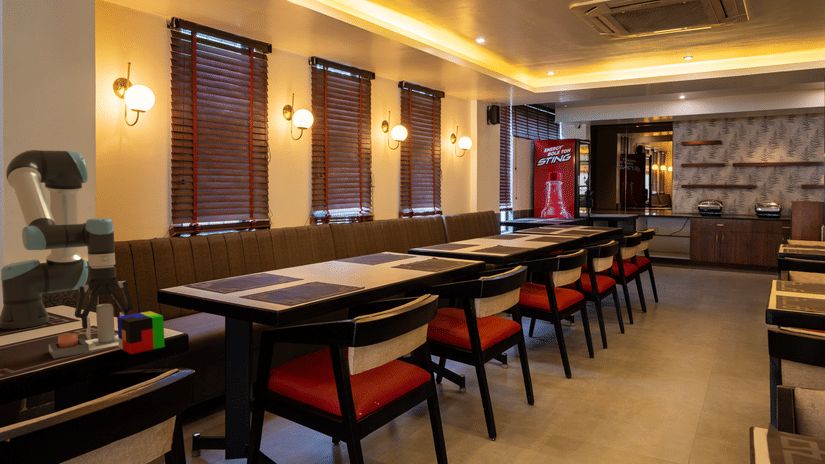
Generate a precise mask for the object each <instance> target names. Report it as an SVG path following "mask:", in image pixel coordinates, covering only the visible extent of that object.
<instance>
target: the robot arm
mask: <svg viewBox="0 0 825 464" xmlns="http://www.w3.org/2000/svg"><path fill="white" fill-rule="evenodd" d="M5 174H6V175H5V176H6V180H7V183H8V184H9V186H10V187H11V188H13V189H14V191H15V196H16V197H17V201H18V204H19V207H20V210H21V213H22V215H23V218H24V221H25V224H26V226H25V227H23V228H22V231H21V232H22V234H21V237H22V244H23V248H24V249H25V250H28V251H44V250H45V251H46V250H50V253H49V254H48V255H47V256H46V257H45V258H46V259H45V262H40V260H39V259H30V260H29V259H26V260H20V261H16V262H12V263H8V264H5V265H4V266H2V268H1V270H0V271H1V272H0V281H1V289H2V290H1V291H2V292H1V293H2V308H1V309H2V310H1V312H0V329H1V328H2V330H3V329H4V330H17V328H19V329H25V328H32V327H36V326H41V325H44V324H46V323H49V322H50V317H49V313H48V310H47V309H46V307H45V304H44V302H43V295H42V294H50V293H52V294H53V293H59V292H67V291H69V292H70V291H71V292H72V291H73V290H74V291H75V290H78V296H77V299H76V305H75V310H74V317H76V318H77V319H81V327H82V329H84V330H85V331H86V333H85V334H86V335H85V336H86V338H87V340H91V339H92V331H91V319H90V317H88V316H89V314H90V312H91V310H92V308H93V306H94V304H95V302H96V301H97V299H98V298H99V297H103V296H111V297H112V299H113V300H114V301H115V303H116V304H117V305H118V307H119V309H120V310H121V311H120V312H119V316H125V315H129V312H130V311H133V310H134V305H133V301H132V298H131V296H130V293H129V290H128V284H129V283H128V282H127V281H126V280H122V281H121V280H120V281H118V279H117V268H116V266H115V265H116V253H115V251H116V250H115V232H114V231H115V227H114V222H113V219H111V218H107V217H101V218H100V217H99V218H89V219H87V220H86V222H84V223H78V192H79V191H81V190H82V189H83V184H85V183H87V182H88V178H89V175H88V174H89V173H88V167H87V164H86V161H85V158H84V157H83V155H82V154H81V153H80V152H77V151H70V150H44V149H43V150H40V149H30V150H25V151H23V152H20V153H18V154H17V155H16V156H15V157H14V158H12V159H11V161H10V162H9V164H8V165H7V168H6V173H5ZM41 183H44V188H45V189H47V191H49V203H50V204H49V203H48V199H47V197H46V194H45V193H44V190H43V187H42V184H41ZM84 247H86V248H87V259H88V260H86V259H84V258H83V255H82V254H80V253H79V252H78V251H79V250H78V248H84ZM88 267H89V268H88ZM88 279H89V282H88V283H87V281H88ZM86 283H87V284H86ZM117 287H119V288H121V291H122V293H123V298H124V301H125V304H126V305H125V304H124V303H123V301H122V300H121V298H120V297H119V295H118V293H117V292H116V290H115V289H116V288H117ZM88 289H89V290H90V291H91V295H90V296H89V299H88V301H87V303H86V305H85V307H84V309H83V304H84V301H85V295H86V293H87V291H88ZM82 310H83V311H82Z"/></svg>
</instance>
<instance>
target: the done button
mask: <svg viewBox="0 0 825 464" xmlns="http://www.w3.org/2000/svg"><path fill="white" fill-rule="evenodd" d="M78 337H79V335H78V333H77V332H70V333H69V332H67V333H62V334H60V335H58V336H57V343H58V344H59V348H63V347H69V346H75V345H78V339H79V338H78Z"/></svg>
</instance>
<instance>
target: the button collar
mask: <svg viewBox="0 0 825 464" xmlns="http://www.w3.org/2000/svg"><path fill="white" fill-rule="evenodd" d="M48 353H49V354H50V356H51V357H52V359H54V360H55V359H60V358H65V357H72V356H76V355H77V356H78V355H81V354H83V355H84V354H88V353H90V351H89V346H88V343H87V342H86V341H85V339H84V338H83V337H82V338H78V345H75V346H69V347H63V348H59V344H58V342H53V343H48Z"/></svg>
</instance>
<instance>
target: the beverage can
mask: <svg viewBox="0 0 825 464" xmlns="http://www.w3.org/2000/svg"><path fill="white" fill-rule="evenodd" d="M95 312H96V313H95V314H96V329H97V330H96V331H97V332H96V333H97V338H98V341H99V342H100V343H109V342H112V341H114V340H115V335H116V334H115V333H116V331H115V317H114V316H115V315H114V306H113V303H101V304H98V305H96V308H95Z"/></svg>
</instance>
